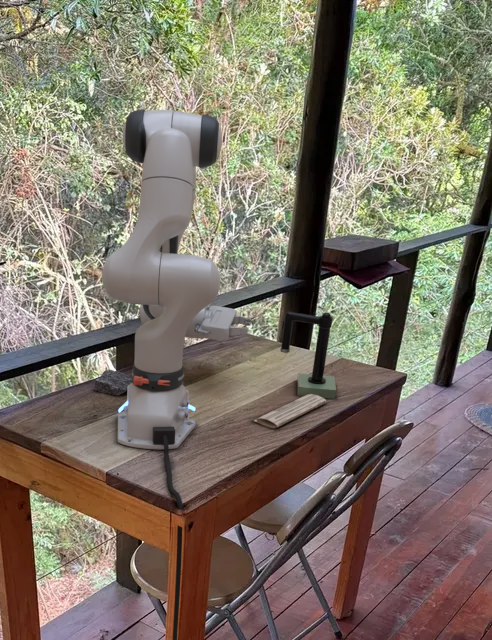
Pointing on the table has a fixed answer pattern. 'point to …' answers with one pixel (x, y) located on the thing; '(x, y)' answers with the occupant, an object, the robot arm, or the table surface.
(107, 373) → the rock
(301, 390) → the block
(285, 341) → the spout
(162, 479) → the table surface
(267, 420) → the beige flat ridged bar
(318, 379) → the tap pillar
